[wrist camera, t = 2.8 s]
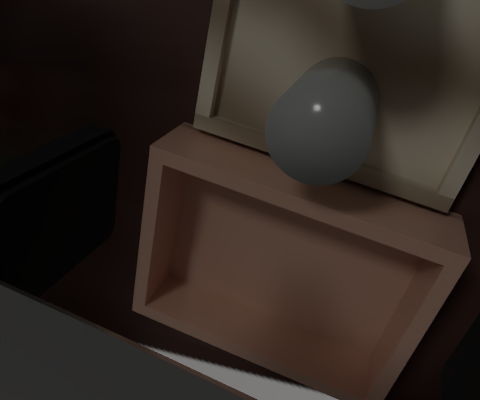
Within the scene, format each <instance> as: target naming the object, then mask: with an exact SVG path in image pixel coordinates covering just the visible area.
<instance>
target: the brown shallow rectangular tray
mask: <svg viewBox="0 0 480 400" xmlns="http://www.w3.org/2000/svg"><path fill="white" fill-rule="evenodd" d="M470 260H471V255H470V251H469V246H468V242H467V237H466V232H465V228H464V223H463V218H462V215H460V214H457V213H454V212H451V211H448V213H445V212H442V211H440V210H437V209H434V208H431V207H428V206H425V205H422V204H419V203H416V202H413V201H410V200H407V199H404V198H401V197H398V196H395V195H392V194H389V193H386V192H383V191H380V190H377V189H374V188H372V187H369V186H366V185H363V184H360V183H357V182H354V181H351V180H348V179H345V180H343V181H340V182H338V183H335V184H330V185H322V186H320V185H309V184H305V183H302V182H299V181H297V180H295V179H293V178H291V177H289V176H288V175H286V174H285V173H284V172H283V171H282V170H281V169H280V168H279V167H278V166H277V165H276V164H275V162H274V161H273V159H272V158H271V156H270V154H269V153H268V152H265V151H262V150H259V149H256V148H253V147H250V146H247V145H244V144H241V143H238V142H236V141H233V140H230V139H227V138H224V137H221V136H218V135H215V134H212V133H209V132H206V131H203V130H200V129H197V128H194V127H193V124H190V123H187V122H184V123H182V124H181V125H179V126H178V127H176V128H175V129H174V130H172V131H171V132H169V133H168V134H166V135H165V136H163V137H162V138H160V139H159V140H157V141H156V142H154V143H153V144H152V145H150V152H149V161H148V170H147V180H146V189H145V198H144V207H143V216H142V225H141V234H140V243H139V252H138V262H137V271H136V280H135V289H134V298H133V307H132V310H133V311H135V312H137V313H139V314H142V315H144V316H146V317H149V318H151V319H153V320H156V321H158V322H160V323H163V324H165V325H167V326H170V327H172V328H174V329H177V330H179V331H181V332H184V333H186V334H188V335H190V336H193V337H195V338H197V339H200V340H202V341H204V342H207V343H209V344H211V345H214V346H216V347H218V348H221V349H223V350H225V351H228V352H230V353H232V354H235V355H237V356H239V357H241V358H244V359H246V360H248V361H251V362H253V363H255V364H258V365H260V366H262V367H265V368H267V369H269V370H272V371H274V372H276V373H279V374H281V375H283V376H285V377H288V378H290V379H292V380H295V381H297V382H299V383H302V384H304V385H306V386H309V387H311V388H313V389H316V390H318V391H320V392H323V393H325V394H327V395H330V396H332V397H334V398H336V399H339V400H384V399H385V397H386V395H387V394H388V392H389V391H390V389H391V387H392V386H393V384H394V382H395V381H396V379H397V378H398V376H399V374H400V373H401V371H402V370H403V368H404V366H405V365H406V363H407V361H408V360H409V358H410V357H411V355H412V353H413V352H414V350H415V349H416V347H417V345H418V344H419V342H420V341H421V339H422V337H423V336H424V334H425V332H426V331H427V329H428V328H429V326H430V324H431V323H432V321H433V320H434V318H435V316H436V315H437V313H438V311H439V310H440V308H441V307H442V305H443V303H444V302H445V300H446V299H447V297H448V295H449V294H450V292H451V291H452V289H453V287H454V286H455V284H456V282H457V281H458V279H459V278H460V276H461V274H462V273H463V271H464V270H465V268H466V266H467V265H468V263H469V261H470Z"/></svg>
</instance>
